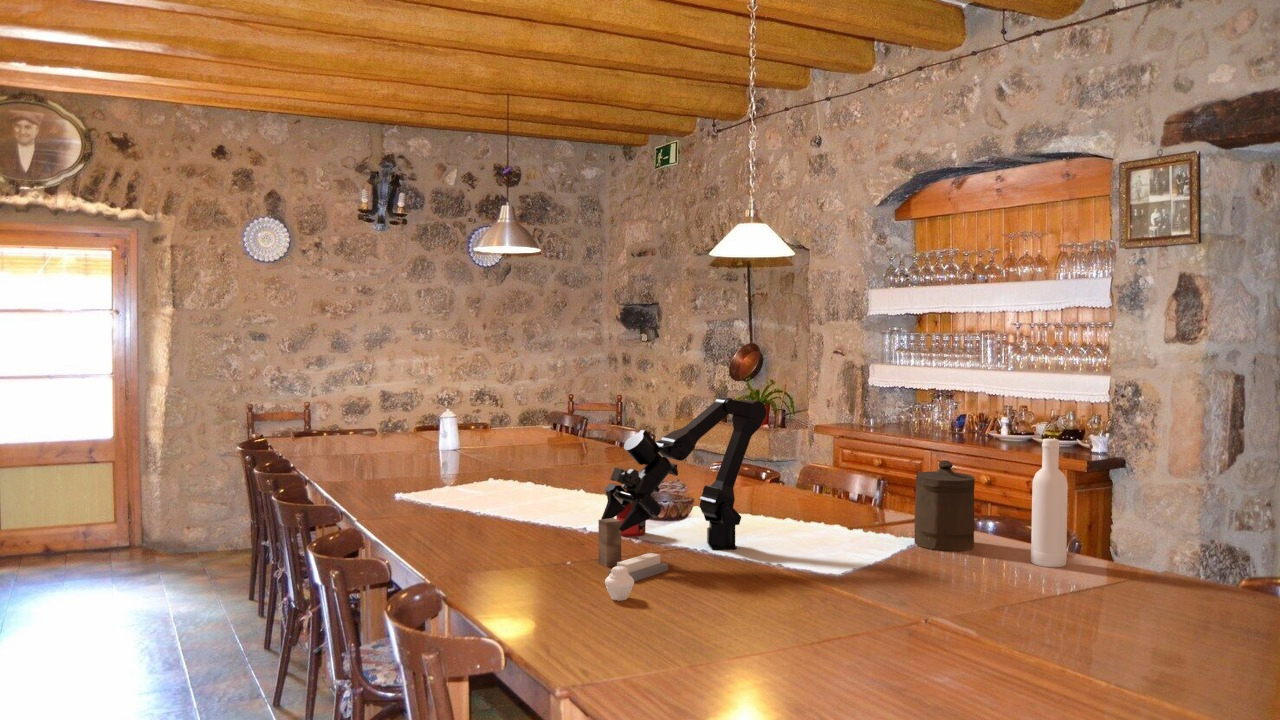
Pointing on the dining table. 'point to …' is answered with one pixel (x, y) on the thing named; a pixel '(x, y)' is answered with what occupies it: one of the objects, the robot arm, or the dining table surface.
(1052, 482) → the bottle
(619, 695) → the dining table surface
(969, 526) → the wooden container
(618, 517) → the canned food
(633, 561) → the ridge block
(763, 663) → the dining table surface
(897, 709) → the dining table surface
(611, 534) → the tall brown block
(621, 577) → the muffin
